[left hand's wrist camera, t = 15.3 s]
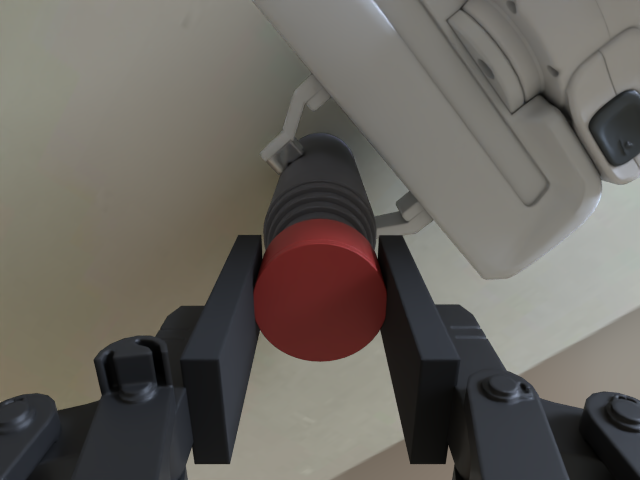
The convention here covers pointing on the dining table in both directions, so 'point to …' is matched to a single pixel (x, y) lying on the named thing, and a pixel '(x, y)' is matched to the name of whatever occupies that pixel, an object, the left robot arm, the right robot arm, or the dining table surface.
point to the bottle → (321, 190)
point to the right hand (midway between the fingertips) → (308, 204)
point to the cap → (320, 291)
